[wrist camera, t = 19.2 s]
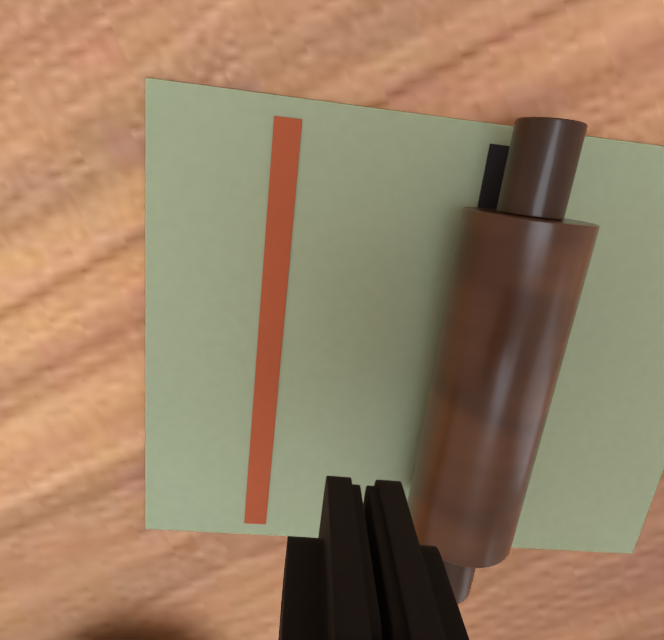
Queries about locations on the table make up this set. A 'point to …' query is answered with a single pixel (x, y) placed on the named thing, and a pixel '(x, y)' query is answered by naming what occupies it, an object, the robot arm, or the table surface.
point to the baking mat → (370, 313)
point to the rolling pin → (500, 352)
